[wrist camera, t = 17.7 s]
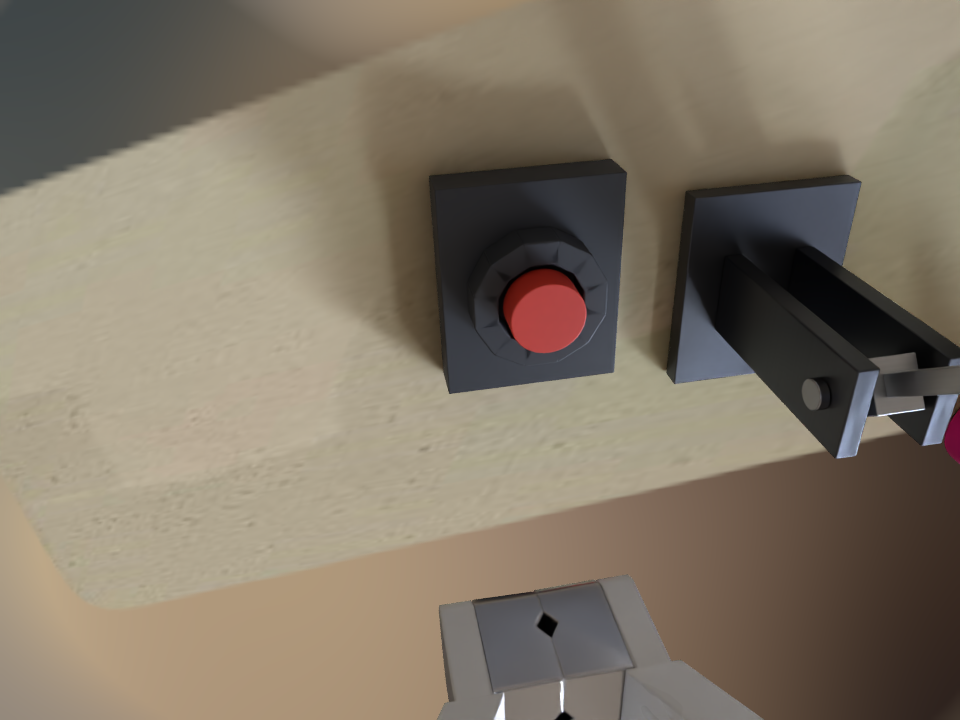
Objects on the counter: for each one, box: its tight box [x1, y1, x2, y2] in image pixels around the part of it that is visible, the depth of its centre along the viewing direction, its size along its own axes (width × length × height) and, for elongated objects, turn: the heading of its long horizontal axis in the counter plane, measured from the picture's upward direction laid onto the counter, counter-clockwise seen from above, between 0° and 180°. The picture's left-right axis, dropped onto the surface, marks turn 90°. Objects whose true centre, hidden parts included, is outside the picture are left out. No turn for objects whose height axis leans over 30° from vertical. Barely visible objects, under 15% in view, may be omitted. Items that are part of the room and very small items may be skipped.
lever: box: [867, 352, 960, 417], centre depth 28 cm, size 11×5×2 cm
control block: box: [429, 159, 627, 394], centre depth 37 cm, size 11×9×4 cm
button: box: [503, 269, 586, 353], centre depth 35 cm, size 4×4×2 cm
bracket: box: [667, 175, 960, 459], centre depth 36 cm, size 11×9×13 cm
